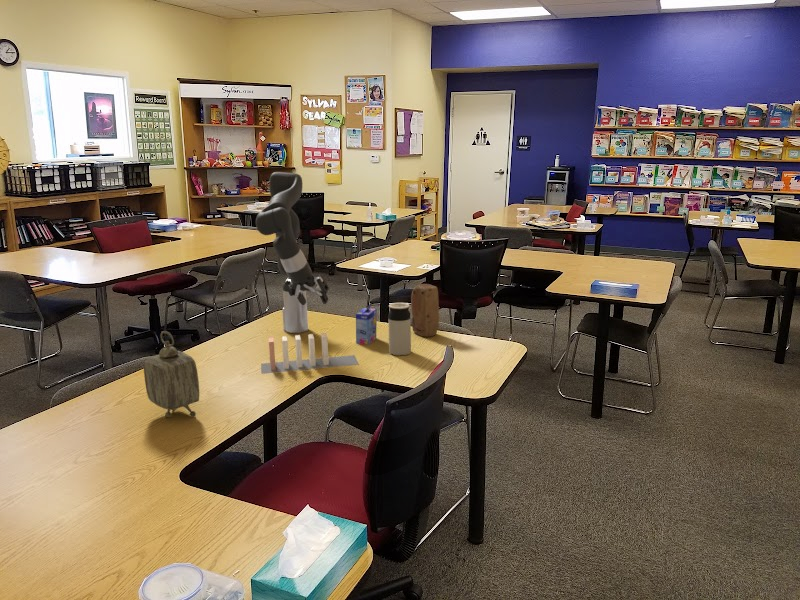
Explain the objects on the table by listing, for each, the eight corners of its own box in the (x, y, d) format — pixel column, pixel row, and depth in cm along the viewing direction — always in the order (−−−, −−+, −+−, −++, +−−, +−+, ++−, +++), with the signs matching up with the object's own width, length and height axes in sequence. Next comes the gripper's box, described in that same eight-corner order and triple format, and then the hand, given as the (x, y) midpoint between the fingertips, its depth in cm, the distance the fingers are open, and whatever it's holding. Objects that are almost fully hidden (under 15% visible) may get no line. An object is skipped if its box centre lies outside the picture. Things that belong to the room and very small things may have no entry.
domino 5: (324, 365, 215) (322, 337, 213) (322, 360, 220) (321, 333, 217) (328, 364, 215) (327, 337, 213) (327, 359, 220) (325, 332, 218)
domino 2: (284, 368, 212) (282, 340, 210) (283, 364, 217) (281, 336, 214) (289, 368, 212) (287, 340, 210) (288, 363, 217) (286, 336, 215)
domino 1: (271, 370, 211) (268, 342, 209) (270, 365, 216) (268, 337, 213) (275, 369, 212) (273, 341, 209) (275, 364, 216) (273, 337, 214)
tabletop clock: (202, 416, 177) (193, 332, 171) (172, 427, 171) (162, 340, 165) (176, 403, 187) (167, 323, 180) (147, 413, 180) (136, 330, 174)
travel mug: (407, 357, 223) (406, 308, 219) (386, 355, 226) (384, 307, 221) (413, 350, 230) (413, 303, 226) (393, 348, 233) (392, 301, 228)
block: (440, 335, 247) (440, 286, 242) (426, 339, 243) (425, 289, 238) (423, 329, 256) (422, 281, 251) (408, 332, 251) (408, 284, 246)
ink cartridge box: (369, 345, 236) (368, 308, 233) (355, 344, 238) (354, 308, 234) (377, 338, 245) (376, 302, 242) (364, 337, 247) (363, 301, 243)
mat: (261, 375, 208) (261, 373, 208) (261, 365, 218) (260, 363, 218) (359, 365, 215) (359, 364, 215) (354, 356, 225) (354, 355, 225)
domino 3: (297, 367, 213) (296, 339, 211) (296, 362, 218) (295, 335, 215) (302, 367, 213) (300, 339, 211) (301, 362, 218) (299, 335, 216)
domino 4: (310, 366, 214) (309, 338, 212) (309, 361, 219) (308, 334, 216) (315, 365, 214) (314, 338, 212) (314, 361, 219) (312, 334, 217)
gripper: (319, 255, 198) (337, 294, 207) (282, 259, 204) (301, 296, 213) (309, 270, 193) (329, 309, 202) (272, 273, 199) (292, 311, 208)
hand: (315, 303), depth 208 cm, fingers open, 8 cm apart
